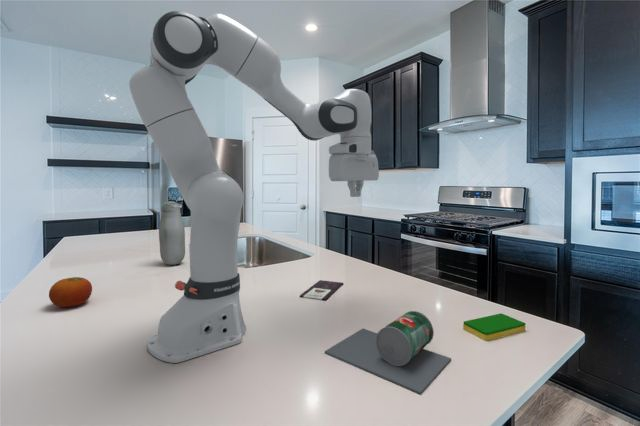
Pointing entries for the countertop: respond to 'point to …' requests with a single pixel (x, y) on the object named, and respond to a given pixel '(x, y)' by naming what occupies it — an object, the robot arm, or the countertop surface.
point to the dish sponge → (493, 326)
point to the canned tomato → (404, 338)
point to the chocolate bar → (321, 290)
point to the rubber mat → (367, 357)
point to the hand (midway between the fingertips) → (355, 196)
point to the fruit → (70, 292)
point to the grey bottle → (171, 234)
